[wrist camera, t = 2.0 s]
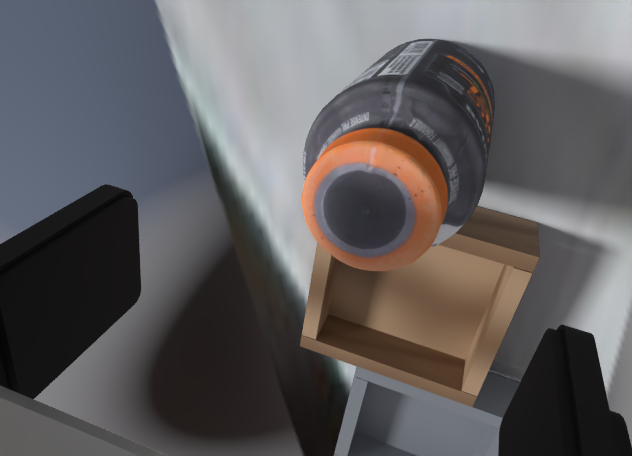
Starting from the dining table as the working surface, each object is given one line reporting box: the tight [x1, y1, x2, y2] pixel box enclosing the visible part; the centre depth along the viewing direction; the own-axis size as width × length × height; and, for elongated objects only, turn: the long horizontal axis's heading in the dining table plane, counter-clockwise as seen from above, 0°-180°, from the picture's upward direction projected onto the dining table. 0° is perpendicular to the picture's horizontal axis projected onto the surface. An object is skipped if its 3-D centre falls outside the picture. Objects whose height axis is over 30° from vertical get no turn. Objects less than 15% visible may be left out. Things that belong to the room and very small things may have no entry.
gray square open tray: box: [334, 366, 520, 456], centre depth 31 cm, size 9×9×3 cm
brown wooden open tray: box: [300, 206, 540, 407], centre depth 27 cm, size 10×10×3 cm
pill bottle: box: [302, 39, 495, 271], centre depth 19 cm, size 6×6×11 cm
